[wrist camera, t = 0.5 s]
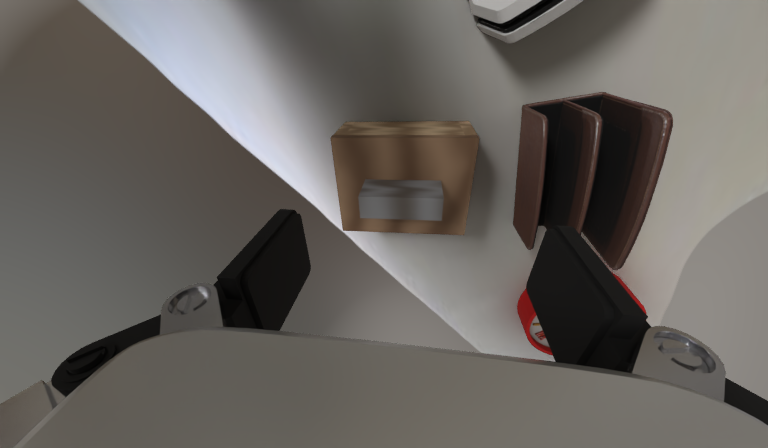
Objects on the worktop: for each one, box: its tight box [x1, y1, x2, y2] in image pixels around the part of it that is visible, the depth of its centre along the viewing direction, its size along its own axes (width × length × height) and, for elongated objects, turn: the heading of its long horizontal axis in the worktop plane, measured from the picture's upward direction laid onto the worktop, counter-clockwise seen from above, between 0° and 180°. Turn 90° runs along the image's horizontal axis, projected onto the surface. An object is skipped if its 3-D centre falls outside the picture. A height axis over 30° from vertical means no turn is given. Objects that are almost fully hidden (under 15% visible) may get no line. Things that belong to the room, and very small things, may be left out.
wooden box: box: [334, 121, 477, 135], centre depth 41 cm, size 18×14×7 cm
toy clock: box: [517, 273, 646, 355], centre depth 54 cm, size 20×6×20 cm
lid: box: [331, 135, 479, 235], centre depth 36 cm, size 18×14×6 cm
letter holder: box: [513, 92, 673, 270], centre depth 36 cm, size 10×20×14 cm, turn 10°
